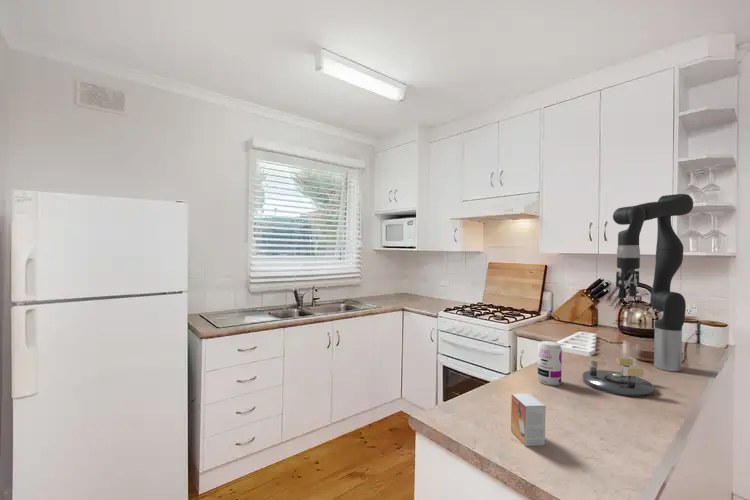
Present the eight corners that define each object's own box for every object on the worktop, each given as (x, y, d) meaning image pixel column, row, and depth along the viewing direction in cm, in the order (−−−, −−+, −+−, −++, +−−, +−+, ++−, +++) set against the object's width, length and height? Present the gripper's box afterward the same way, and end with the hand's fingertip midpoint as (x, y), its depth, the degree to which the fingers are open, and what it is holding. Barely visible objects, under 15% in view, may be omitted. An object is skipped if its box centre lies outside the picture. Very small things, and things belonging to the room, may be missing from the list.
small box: (510, 431, 101) (510, 393, 101) (529, 430, 101) (530, 392, 101) (524, 446, 93) (525, 405, 93) (545, 446, 93) (546, 405, 93)
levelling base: (600, 371, 151) (600, 361, 151) (663, 389, 132) (664, 378, 132) (571, 381, 139) (571, 371, 139) (636, 402, 120) (636, 390, 120)
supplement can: (560, 380, 140) (561, 341, 140) (561, 387, 133) (562, 347, 133) (537, 377, 144) (538, 339, 144) (537, 384, 136) (538, 344, 136)
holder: (579, 335, 216) (579, 331, 216) (615, 341, 203) (615, 336, 203) (550, 349, 185) (550, 344, 185) (589, 357, 172) (589, 352, 172)
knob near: (619, 376, 139) (619, 358, 138) (615, 374, 141) (615, 357, 141) (636, 376, 139) (636, 359, 138) (632, 374, 141) (632, 357, 141)
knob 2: (639, 386, 129) (640, 367, 129) (643, 388, 126) (643, 369, 126) (620, 384, 130) (620, 366, 130) (623, 386, 128) (623, 368, 128)
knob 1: (589, 372, 142) (589, 355, 142) (595, 373, 141) (596, 356, 141) (590, 377, 137) (590, 359, 137) (597, 378, 136) (597, 360, 136)
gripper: (626, 256, 151) (625, 295, 151) (609, 256, 143) (608, 297, 143) (647, 256, 145) (646, 297, 145) (630, 257, 137) (630, 299, 137)
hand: (627, 297), depth 144 cm, fingers open, 8 cm apart
